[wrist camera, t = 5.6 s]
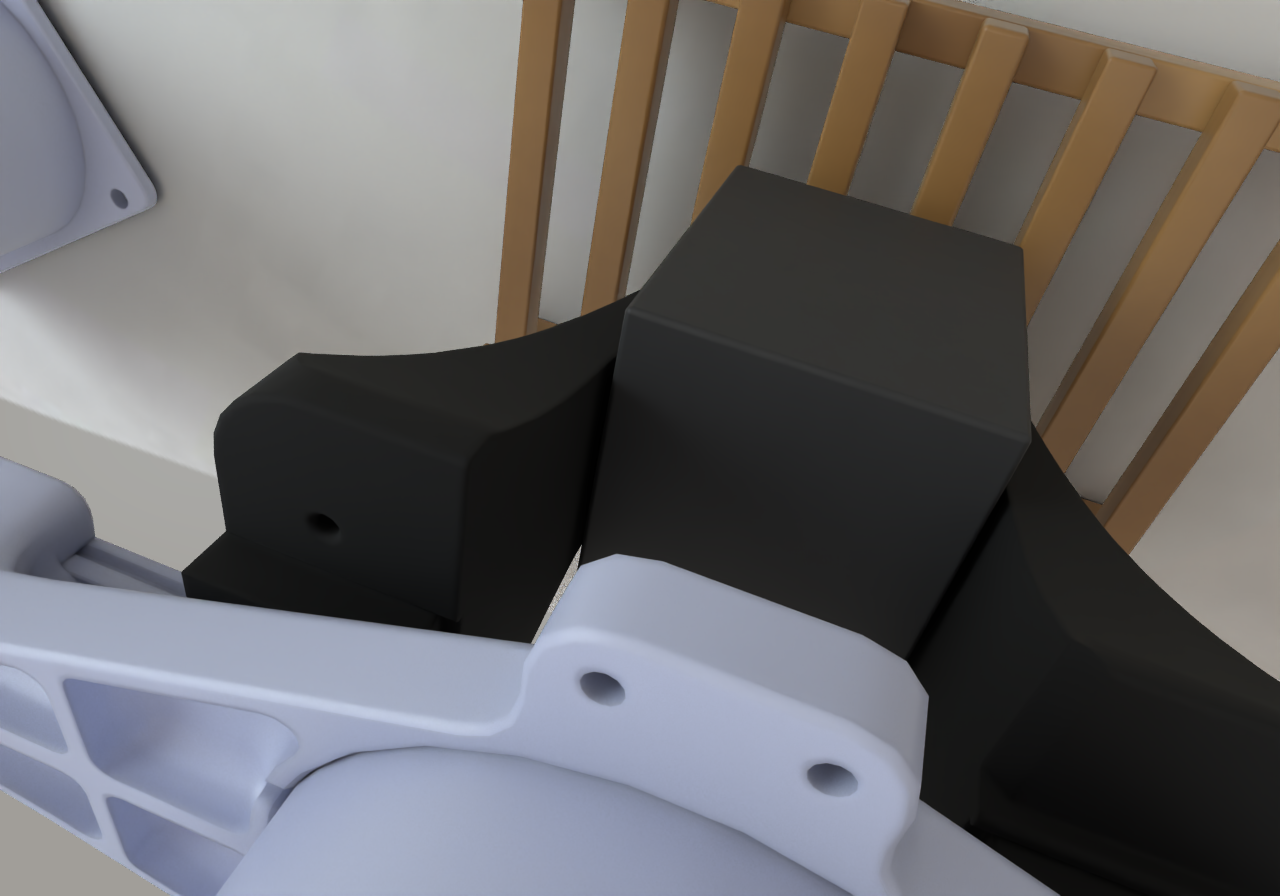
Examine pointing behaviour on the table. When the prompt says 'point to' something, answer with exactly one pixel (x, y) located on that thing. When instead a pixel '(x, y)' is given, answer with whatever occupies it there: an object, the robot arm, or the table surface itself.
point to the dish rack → (940, 183)
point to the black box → (816, 405)
